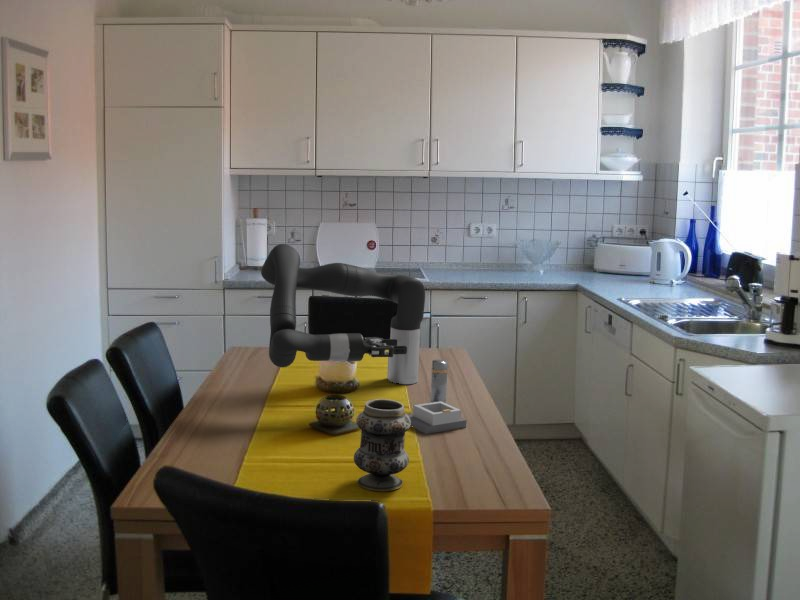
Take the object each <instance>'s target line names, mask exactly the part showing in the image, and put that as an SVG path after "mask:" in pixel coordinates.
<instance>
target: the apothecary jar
mask: <svg viewBox="0 0 800 600" xmlns="http://www.w3.org/2000/svg"><path fill="white" fill-rule="evenodd" d="M407 414H408V413H406V411H405V405H404V404H403V403H402V402H400V401H397V400H394V399H389V398H387V399H386V398H376V399H370V400H367V401H365V404H364V408H363V410H362V411H361V412H360V413H358V415H357V416H356V422H355V423H356V426H357V427H358V429H360V430H361V433H360V435H361V436H360V445H359V447H358V448H357V449H356V450H355V452H354V455H353V462H354V465H356V466H357V468H358V469H360V470H361V471H363V472H365V473H368V474H365V475H362V476H361V477H359V478H358V480H357V485H359V487H361V488H363V489H365V490H368V491H372V492H392V491H396V489H397V490H400V489H401V488H402V487H403V485H404V481H403V480H402V479H401V478H399V477H398V475H396V474H398V473H401V472H403V471H404V470H405V469H406V468H407V466H408V465H409V464H410V463H409V462H410V456H409V454H408V453H407V451H406V450H405V439H406V438H405V437H406V432H407V431H409V429H410V428H411V420H410V418H409V416H408V415H407ZM401 486H402V487H401ZM400 487H401V488H400Z"/></svg>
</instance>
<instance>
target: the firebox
mask: <svg viewBox="0 0 800 600" xmlns="http://www.w3.org/2000/svg"><path fill="white" fill-rule="evenodd" d="M406 414H407V415H408V416H409V418H410V420H411V426H413V427H414V428H413V427H412V428H413V429H415V430H417V431H419V432H421V433H423V434H425V435H428V434H435V433H441V432H447V431H452V430H459V429H465V428H467V421H468V420H467V419H465V418H462V409H459V408H457V407H455V406H453V405H450V404H448V403H447V402H446V403H444V402H442V401H440V402H433V403H430V402H427V403H420V404H414V405H413V413H406ZM411 426H410V427H411Z"/></svg>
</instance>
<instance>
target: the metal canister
mask: <svg viewBox="0 0 800 600" xmlns="http://www.w3.org/2000/svg"><path fill="white" fill-rule="evenodd" d="M431 362H432V363H431V378H430V379H431V383H430V400H429V401H430V402H429V403H433V402H440V401H442V402H444V403H446V404H447V390H448V388H447V386H448V372H449V361H448V360H445V359H433V360H432V361H431Z"/></svg>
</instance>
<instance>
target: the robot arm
mask: <svg viewBox="0 0 800 600" xmlns="http://www.w3.org/2000/svg"><path fill="white" fill-rule="evenodd" d="M300 265H301V256H300V254H299V252H298V251H297V249H296V248H294V247H293V246H292V245H290V244H286V243H279V244H276V245H275V246H273V248H272V249H271V250H270V252H269V253H268V255H267V257H266V259H265V261H264V262H263V264H262V267H261V270H260V273H261V274H260V275H261V277H262V279H264V281H266V282H267V283H269V284H271V285H273V286H274V287H273V292H272V296H271V297H272V298H271V301H270V308H269V326H270V337H269V347H268V356H269V357H268V358H269V359H270V362H271V363H272V364H273V365H275V366H276V367H278V368H288V367H289V366H291V365H292V364H293V363H294V361H295V359H296V356H297V352H302V353H304V354H305V357H306V359H307V360H308V361H311V362H312V361H313V362H329V361H330V362H361V361H362V360H363V359H364V356H365V354H366V355H369V356H370V357H371V358H387V373H386V375H387V376H386V378H387V380H388V382H390V383H392V382H393V383H392V384H396V383H399V384H398V385H412V384H416V383H418V381H419V380H418V378H419V377H418V376H419V363H420V341H421V323H422V322H423V319H424V314H425V304H426V288H425V285H424V284H423V282H422V281H421V280H420V279H418V278H415V277H412V276H409V275H405V274H388V273H380V272H377V271H374V270H373V271H372V270H369V269H367V268H365V267H361V266H357V265H352V264H347V263H343V262H332V263H327V264H322V265H319V266H315V267H309V268H308V267H307V268H305V267H303V268H302V267H300ZM297 289H309V290H314V291H315V290H316V291H323V292H326V293H327V292H328V293H332V294H338V295H344V296H348V297H369V296H370V297H377V298H381V299H384V300H386V301H390V302H393V303H395V304H396V305H397V308H396V309H397V310H396V315H395V316H393V317H392V318H391V320H390V337H389V338H387V339H386V338H385V339H384V338H383V337H379V336H372V337H371V336H367V337H364V336H363V335H362V334H361V333H360V332H359V333H358V332H357V333H356V332H354V333H353V332H352V333H331V334H311V333H309V332H304V331H301V330H300V331H299V330H297V309H296V308H297V305H296V303H297V301H296V300H297V299H296V298H297V296H296V295H297Z"/></svg>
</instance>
